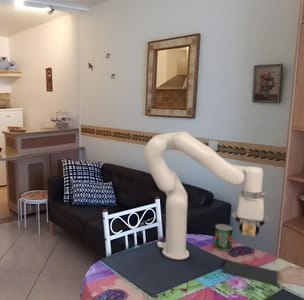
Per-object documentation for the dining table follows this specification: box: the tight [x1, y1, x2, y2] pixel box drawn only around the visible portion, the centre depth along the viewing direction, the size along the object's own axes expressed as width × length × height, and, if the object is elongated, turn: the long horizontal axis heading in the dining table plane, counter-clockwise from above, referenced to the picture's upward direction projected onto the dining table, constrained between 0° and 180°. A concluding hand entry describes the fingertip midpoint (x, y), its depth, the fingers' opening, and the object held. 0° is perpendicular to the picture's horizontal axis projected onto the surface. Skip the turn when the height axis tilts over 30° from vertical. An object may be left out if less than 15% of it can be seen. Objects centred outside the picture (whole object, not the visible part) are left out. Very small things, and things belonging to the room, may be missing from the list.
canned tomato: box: [214, 223, 234, 252], centre depth 162 cm, size 8×8×11 cm
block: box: [241, 220, 256, 238], centre depth 143 cm, size 5×5×5 cm
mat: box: [222, 260, 278, 286], centre depth 139 cm, size 20×12×1 cm, turn 57°
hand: (248, 232), depth 144 cm, fingers closed on block, 5 cm apart
